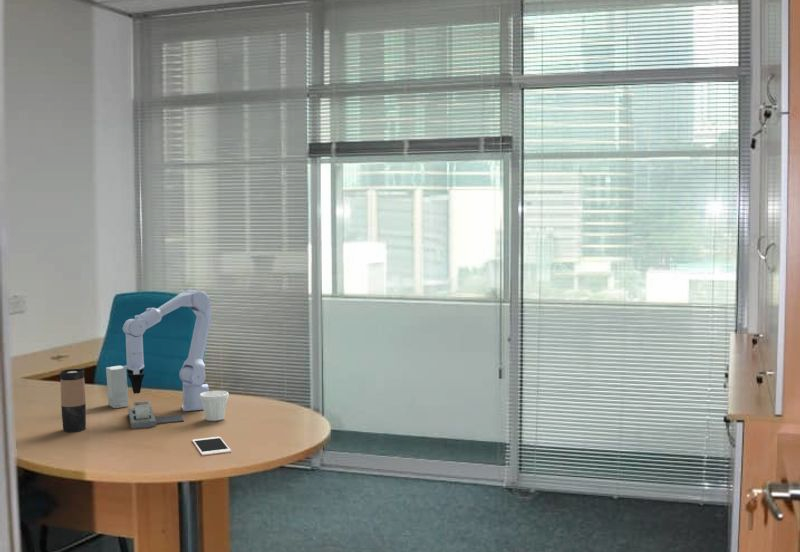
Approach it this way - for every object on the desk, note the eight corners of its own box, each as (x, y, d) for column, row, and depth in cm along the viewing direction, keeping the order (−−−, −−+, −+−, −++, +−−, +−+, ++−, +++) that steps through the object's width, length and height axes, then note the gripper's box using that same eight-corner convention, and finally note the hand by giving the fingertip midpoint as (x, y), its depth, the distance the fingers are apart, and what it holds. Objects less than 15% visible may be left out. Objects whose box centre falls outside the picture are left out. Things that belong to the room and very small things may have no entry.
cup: (222, 423, 285) (221, 397, 284) (195, 422, 287) (194, 396, 286) (233, 416, 294) (233, 391, 294) (207, 415, 296) (207, 390, 296)
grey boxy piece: (149, 420, 290) (149, 401, 290) (151, 424, 285) (150, 404, 285) (134, 422, 288) (133, 402, 288) (135, 425, 283) (134, 405, 283)
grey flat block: (151, 412, 302) (151, 406, 302) (156, 426, 282) (156, 420, 282) (128, 414, 299) (128, 408, 299) (131, 429, 279) (131, 423, 279)
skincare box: (129, 406, 311) (127, 367, 310) (112, 409, 308) (111, 369, 307) (123, 402, 318) (121, 364, 317) (106, 404, 315) (105, 366, 314)
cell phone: (202, 457, 247) (202, 454, 247) (192, 442, 263) (191, 439, 263) (231, 453, 250) (231, 450, 250) (219, 439, 267) (219, 436, 267)
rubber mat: (180, 415, 297) (180, 414, 297) (183, 421, 288) (183, 420, 288) (154, 418, 294) (154, 417, 293) (156, 424, 285) (156, 422, 285)
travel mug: (91, 427, 281) (89, 369, 280) (75, 433, 274) (73, 373, 273) (73, 425, 284) (70, 368, 282) (57, 431, 277) (54, 372, 275)
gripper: (122, 350, 297) (123, 387, 298) (123, 357, 283) (125, 396, 284) (142, 349, 299) (144, 386, 300) (145, 355, 286) (146, 394, 287)
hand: (136, 391), depth 293 cm, fingers open, 7 cm apart
